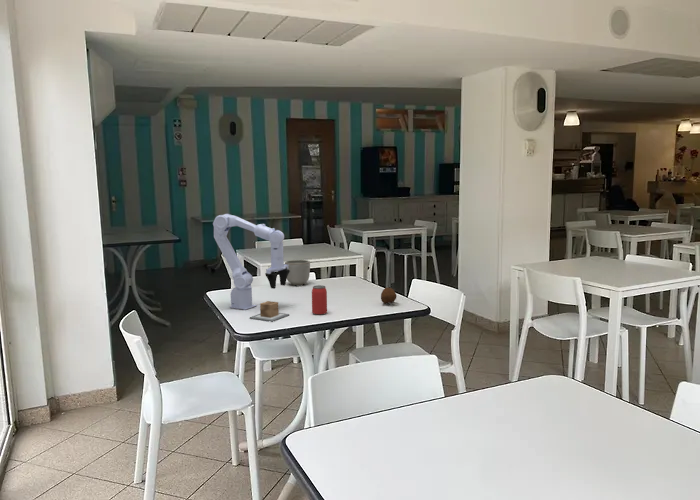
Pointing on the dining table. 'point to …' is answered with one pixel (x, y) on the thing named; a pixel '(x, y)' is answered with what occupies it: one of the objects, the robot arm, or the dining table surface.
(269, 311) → the walnut block
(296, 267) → the planter
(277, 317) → the slate coaster
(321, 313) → the beer can
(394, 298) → the potato
